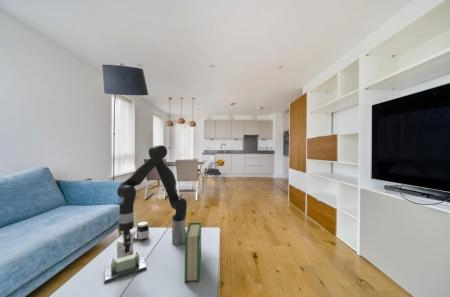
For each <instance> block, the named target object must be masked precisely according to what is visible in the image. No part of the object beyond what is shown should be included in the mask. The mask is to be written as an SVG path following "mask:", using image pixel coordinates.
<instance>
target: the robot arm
mask: <svg viewBox="0 0 450 297" xmlns="http://www.w3.org/2000/svg"><path fill="white" fill-rule="evenodd" d="M167 154H168V150H167V147H166V146H165V145H161V144H159V145H152V146H150V147H149V149H148V155H149V157H150V158H149V159H148V160H146V162H144V163H143V164H141V165H140V166H138V168H137V169H136V170H135V171H134V173H133V174H132V175H131V176H130V177H129V178H128V179H126V180H125V181H124V182H123V183H122V184H120V185H119V186H118V187H117V191H116V192H117V193H116V194H117V196H118V197H120V198H122V199H123V200H122V202H121V203H120V204H119V208H118V209H119V211H118V212H119V213H118V231H120V232H122V233H121V235H122V239H123V246H125V253H128V252H129V251H130V245H131V244H130V240H131V237H130V236H131V233H132V232H131V230H133V229H134V228H135V225H134V224H135V215H134V214H135V213H134V204H135V200H136V197H137V190H136V188H135V187H136V186H140V185H141V184H142V183H143V181H144V180H146V178H147V176H148V175H149V173H150V172H151V171H152V170H153V169H154V168H155V169H156V171H157V174H158V175H159V179H160V181H161V183H162V185H163V188H164V190H165V193H166V195H167V197H168V201H169V204H170V207H171V208H172V209H173V210H175V214H173V215H172V222H171V224H172V225H171V226H172V230H171V244H172V245H173V246H182V245H183V244H184V245H185V235H186V232H187V229H186V216H187V208H188V206H187V200H186V199H185V198H184V197H180V196H179V194H178V192H177V188H176V187H177V180H176V177H175V175H174V173H173V170H171V169H170V168H169V166H168V165H167V164H166V163H165V161H164V159H165V158H166V157H167ZM128 241H129V243H128Z"/></svg>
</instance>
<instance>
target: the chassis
mask: <svg viewBox="0 0 450 297" xmlns="http://www.w3.org/2000/svg"><path fill="white" fill-rule="evenodd" d="M135 255H137V264H136V265H135V267H132V268H129V269H126V270H122V271H119V272H117V271H114V266H115V261H116V260H115V258H112V261H111V262H113V270H112V272H111V265H108V266H106V267H104V269H103V270H104V284H107V283H110V282H112V281H117V280H119V279H121V278H122V279H123V278H125V277H127V276H131V275H135V274H136V273H139V272H143V271H146V270H147V265H146V262H145V260H144V257H143V256H140V254H139V251H136V252H135ZM138 262H139V264H138Z"/></svg>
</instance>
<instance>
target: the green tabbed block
mask: <svg viewBox="0 0 450 297" xmlns="http://www.w3.org/2000/svg"><path fill="white" fill-rule="evenodd" d="M114 261H115V266H114V271H117V272H119V271H122V270H126V269H129V268H132V267H135V265H136V264H137V255H136V254H134V253H133V254H132V255H129V256H125V257H122V258H118V259H117V258H116V260H114ZM138 264H139V262H138ZM110 266H111V272H112V270H113V262H112V261H111V262H110Z"/></svg>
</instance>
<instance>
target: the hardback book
mask: <svg viewBox="0 0 450 297" xmlns="http://www.w3.org/2000/svg"><path fill="white" fill-rule="evenodd" d="M201 264H202V222H188V225H187V229H186V235H185V243H184V284H186V283H187V282H190V281H196V282H197V283H198V284H199V283H200V276H201V268H202V266H201Z"/></svg>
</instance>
